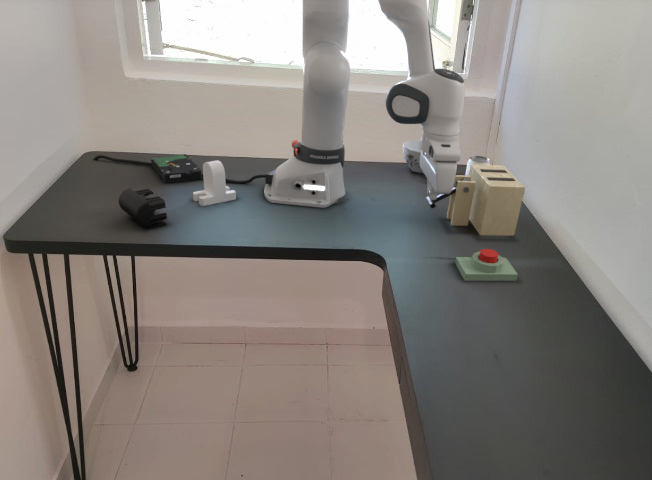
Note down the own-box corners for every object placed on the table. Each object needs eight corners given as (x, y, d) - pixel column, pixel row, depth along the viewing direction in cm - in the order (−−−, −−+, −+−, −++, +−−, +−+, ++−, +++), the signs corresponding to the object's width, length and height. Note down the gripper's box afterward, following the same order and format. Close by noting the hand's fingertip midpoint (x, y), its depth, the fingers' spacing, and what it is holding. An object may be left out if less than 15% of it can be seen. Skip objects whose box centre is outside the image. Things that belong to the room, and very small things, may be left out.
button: (481, 264, 130) (483, 256, 129) (476, 255, 133) (477, 248, 132) (499, 264, 131) (500, 257, 130) (493, 255, 134) (494, 248, 133)
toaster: (478, 239, 148) (489, 185, 141) (461, 213, 162) (470, 163, 154) (513, 240, 150) (526, 186, 142) (493, 214, 163) (503, 164, 156)
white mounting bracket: (236, 199, 157) (235, 162, 151) (202, 206, 151) (199, 167, 145) (226, 192, 160) (224, 156, 154) (192, 199, 154) (189, 161, 149)
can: (476, 205, 168) (484, 164, 162) (457, 198, 171) (464, 158, 165) (487, 199, 173) (495, 159, 166) (468, 193, 176) (475, 153, 169)
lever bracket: (449, 232, 151) (457, 184, 144) (441, 219, 157) (448, 172, 150) (471, 232, 152) (480, 184, 145) (463, 220, 158) (471, 173, 151)
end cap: (120, 217, 141) (116, 190, 137) (149, 211, 145) (146, 184, 142) (139, 232, 135) (135, 204, 131) (168, 225, 139) (165, 198, 136)
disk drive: (202, 180, 166) (186, 162, 176) (202, 170, 165) (185, 153, 175) (165, 184, 161) (150, 166, 171) (164, 174, 160) (149, 156, 170)
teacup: (392, 165, 191) (395, 141, 187) (423, 161, 198) (426, 137, 193) (420, 181, 181) (423, 155, 177) (451, 176, 187) (455, 151, 183)
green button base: (464, 280, 129) (467, 266, 128) (455, 263, 136) (457, 249, 134) (516, 281, 131) (519, 267, 130) (504, 264, 138) (507, 250, 136)
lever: (432, 210, 148) (429, 202, 147) (428, 203, 152) (424, 195, 151) (472, 190, 147) (469, 182, 146) (467, 183, 151) (464, 175, 150)
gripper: (417, 130, 150) (411, 182, 157) (436, 156, 133) (428, 213, 140) (441, 131, 151) (434, 183, 158) (463, 157, 134) (453, 214, 141)
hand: (431, 197), depth 149 cm, fingers closed, pressing on lever
